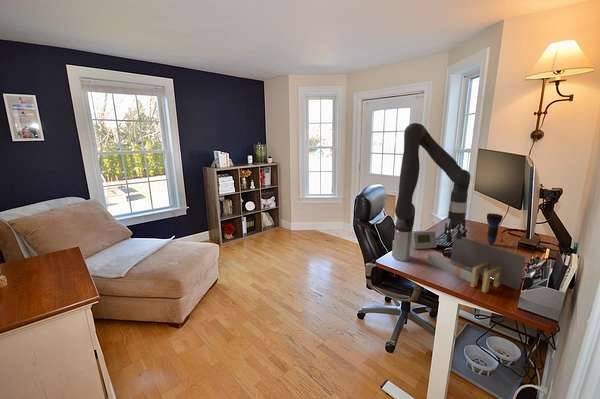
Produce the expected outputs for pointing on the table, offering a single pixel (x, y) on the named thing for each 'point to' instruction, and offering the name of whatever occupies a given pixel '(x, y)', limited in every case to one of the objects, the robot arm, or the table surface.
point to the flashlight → (493, 226)
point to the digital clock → (424, 239)
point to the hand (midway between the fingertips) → (453, 240)
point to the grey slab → (451, 266)
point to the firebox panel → (489, 259)
